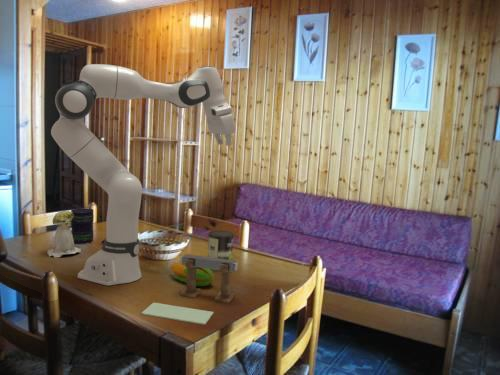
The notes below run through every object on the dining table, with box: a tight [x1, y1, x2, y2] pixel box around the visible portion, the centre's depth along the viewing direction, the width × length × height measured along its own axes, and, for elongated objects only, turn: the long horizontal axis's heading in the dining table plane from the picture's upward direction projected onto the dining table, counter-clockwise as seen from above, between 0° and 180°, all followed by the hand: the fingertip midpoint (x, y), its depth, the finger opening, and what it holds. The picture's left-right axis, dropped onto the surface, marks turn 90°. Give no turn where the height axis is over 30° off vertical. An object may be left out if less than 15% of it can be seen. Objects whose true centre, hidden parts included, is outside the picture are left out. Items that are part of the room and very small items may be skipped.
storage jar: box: [70, 207, 94, 245], centre depth 191 cm, size 10×10×15 cm
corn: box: [170, 263, 215, 287], centre depth 149 cm, size 7×8×20 cm
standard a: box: [180, 260, 202, 298], centre depth 139 cm, size 5×6×12 cm
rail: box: [180, 253, 239, 273], centre depth 137 cm, size 19×3×3 cm, turn 77°
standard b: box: [214, 264, 235, 304], centre depth 136 cm, size 5×6×12 cm
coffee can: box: [207, 229, 235, 271], centre depth 167 cm, size 10×10×14 cm
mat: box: [141, 302, 214, 325], centre depth 123 cm, size 20×8×1 cm, turn 77°
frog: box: [47, 210, 82, 258], centre depth 172 cm, size 12×13×18 cm
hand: (224, 144), depth 159 cm, fingers open, 8 cm apart
